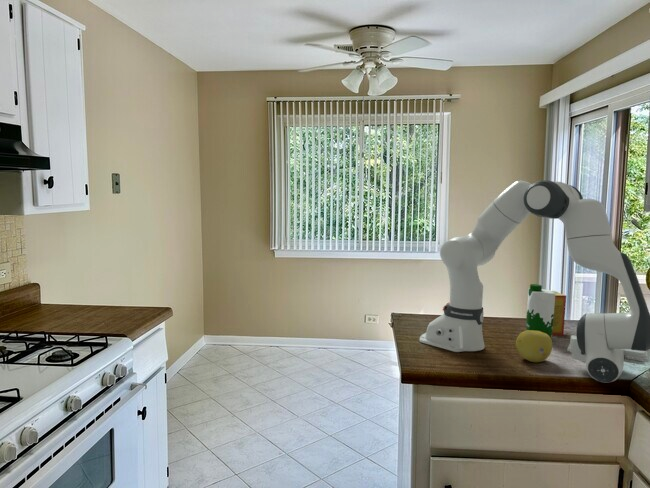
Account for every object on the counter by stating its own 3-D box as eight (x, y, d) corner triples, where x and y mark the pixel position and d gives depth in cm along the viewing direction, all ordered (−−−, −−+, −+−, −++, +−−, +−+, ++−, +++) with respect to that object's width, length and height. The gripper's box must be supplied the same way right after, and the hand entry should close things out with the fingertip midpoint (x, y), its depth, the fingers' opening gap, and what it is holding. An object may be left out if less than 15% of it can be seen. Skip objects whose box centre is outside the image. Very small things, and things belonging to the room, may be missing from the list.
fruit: (558, 364, 143) (560, 333, 142) (529, 367, 140) (532, 335, 139) (535, 353, 153) (537, 325, 152) (508, 355, 150) (510, 326, 149)
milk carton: (523, 332, 177) (526, 282, 175) (548, 334, 175) (551, 284, 174) (528, 339, 169) (532, 286, 167) (554, 341, 167) (558, 288, 165)
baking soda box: (563, 335, 175) (566, 294, 174) (546, 335, 175) (549, 294, 174) (550, 328, 185) (553, 289, 183) (534, 328, 185) (537, 289, 183)
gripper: (650, 351, 125) (649, 339, 137) (568, 337, 137) (573, 327, 148) (648, 373, 126) (647, 359, 137) (566, 357, 137) (571, 345, 149)
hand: (608, 342), depth 143 cm, fingers closed on sprinkles bottle, 4 cm apart
